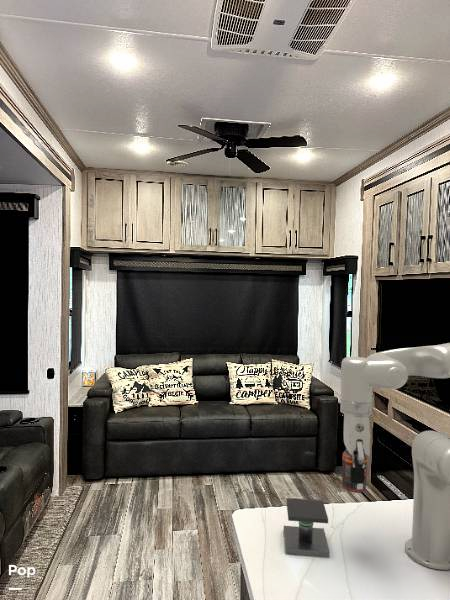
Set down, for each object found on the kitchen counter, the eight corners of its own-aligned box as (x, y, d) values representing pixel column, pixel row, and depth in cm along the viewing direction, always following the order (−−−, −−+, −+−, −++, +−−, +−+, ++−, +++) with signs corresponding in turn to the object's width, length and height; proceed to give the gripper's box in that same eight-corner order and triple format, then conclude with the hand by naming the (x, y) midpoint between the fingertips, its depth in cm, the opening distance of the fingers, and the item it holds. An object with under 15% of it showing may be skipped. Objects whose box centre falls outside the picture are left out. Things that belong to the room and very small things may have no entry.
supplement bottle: (367, 495, 109) (368, 449, 108) (342, 492, 110) (343, 447, 109) (364, 484, 114) (365, 441, 114) (341, 482, 116) (342, 439, 115)
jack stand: (323, 533, 122) (324, 499, 122) (329, 557, 112) (330, 520, 111) (283, 530, 123) (284, 497, 123) (285, 554, 112) (286, 517, 112)
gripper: (380, 417, 103) (378, 493, 103) (363, 398, 120) (361, 464, 120) (347, 415, 103) (345, 492, 104) (335, 397, 120) (333, 463, 121)
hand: (354, 476), depth 112 cm, fingers closed on supplement bottle, 6 cm apart
